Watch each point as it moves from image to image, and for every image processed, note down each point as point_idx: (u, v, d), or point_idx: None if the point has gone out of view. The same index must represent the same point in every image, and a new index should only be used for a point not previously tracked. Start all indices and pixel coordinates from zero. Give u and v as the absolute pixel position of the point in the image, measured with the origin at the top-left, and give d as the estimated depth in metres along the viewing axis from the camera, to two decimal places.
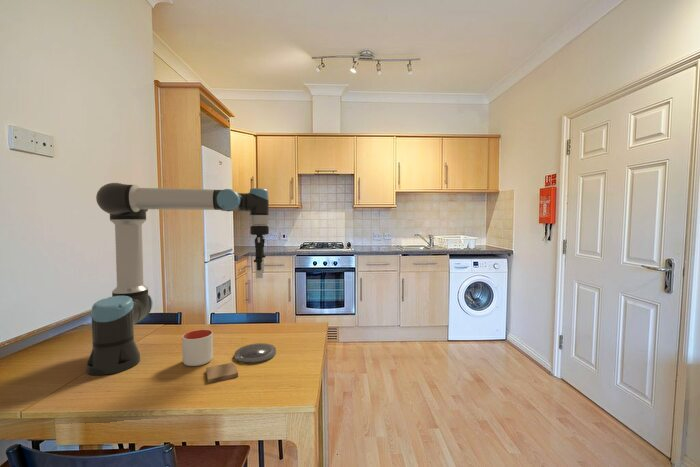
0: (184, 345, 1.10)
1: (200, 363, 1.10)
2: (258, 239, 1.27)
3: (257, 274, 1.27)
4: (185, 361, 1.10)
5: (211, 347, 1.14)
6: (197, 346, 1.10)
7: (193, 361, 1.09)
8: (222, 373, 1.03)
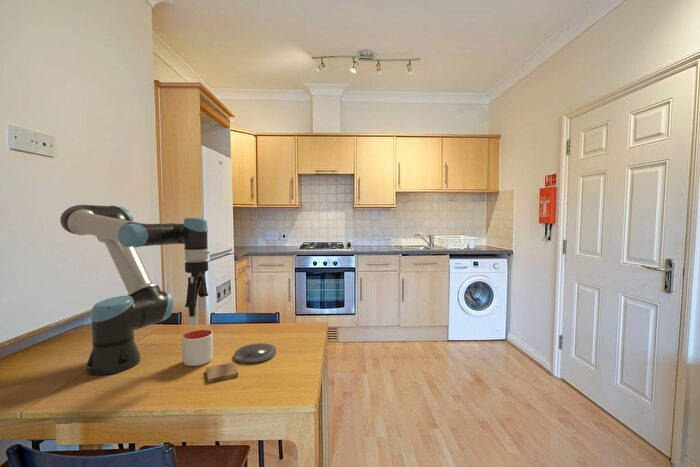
0: (184, 345, 1.10)
1: (200, 363, 1.10)
2: (191, 279, 1.06)
3: (190, 321, 1.07)
4: (185, 361, 1.10)
5: (211, 347, 1.14)
6: (197, 346, 1.10)
7: (193, 361, 1.09)
8: (222, 373, 1.03)
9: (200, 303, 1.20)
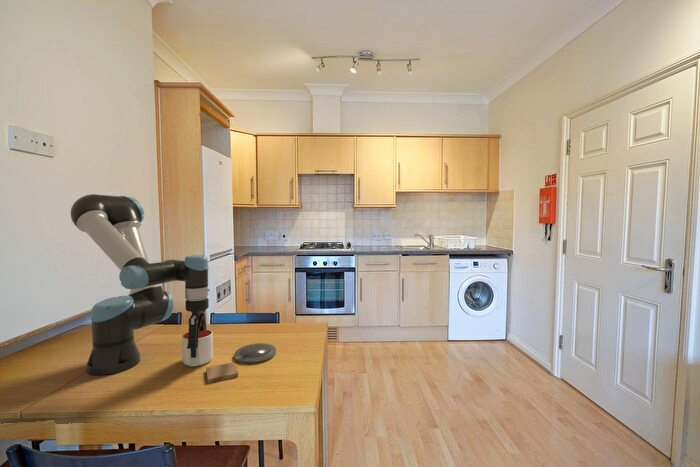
0: (184, 345, 1.10)
1: (200, 363, 1.10)
2: (192, 321, 1.07)
3: (192, 362, 1.09)
4: (185, 361, 1.10)
5: (211, 347, 1.14)
6: None
7: None
8: (222, 373, 1.03)
9: None
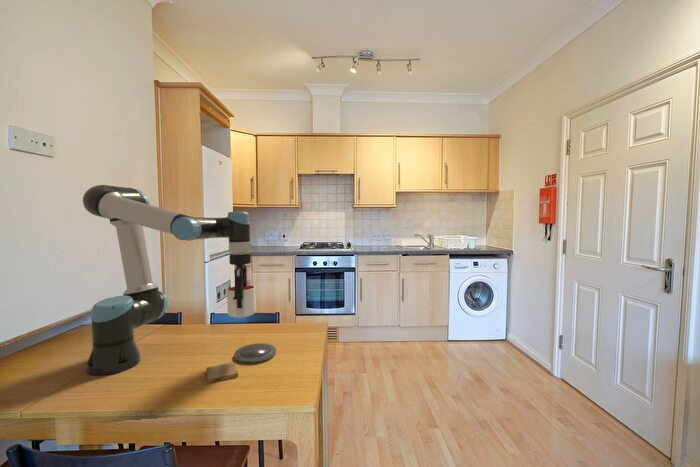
0: (229, 297, 1.13)
1: (245, 314, 1.13)
2: (238, 272, 1.10)
3: (238, 312, 1.12)
4: (231, 312, 1.13)
5: (254, 300, 1.17)
6: None
7: None
8: (222, 373, 1.03)
9: None
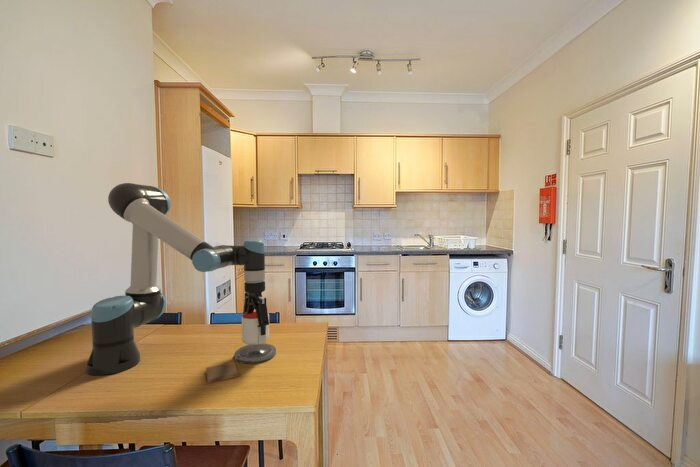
0: (250, 325, 1.14)
1: None
2: (263, 300, 1.14)
3: (260, 339, 1.15)
4: (251, 340, 1.15)
5: None
6: None
7: None
8: (222, 373, 1.03)
9: None
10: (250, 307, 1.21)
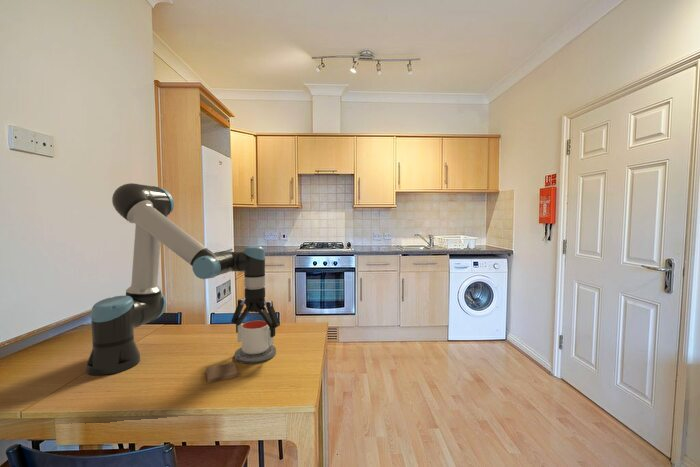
0: (258, 335, 1.15)
1: (268, 347, 1.20)
2: (271, 303, 1.17)
3: (270, 341, 1.17)
4: (259, 349, 1.15)
5: None
6: None
7: (266, 346, 1.18)
8: (222, 373, 1.03)
9: (240, 331, 1.21)
10: (246, 313, 1.20)
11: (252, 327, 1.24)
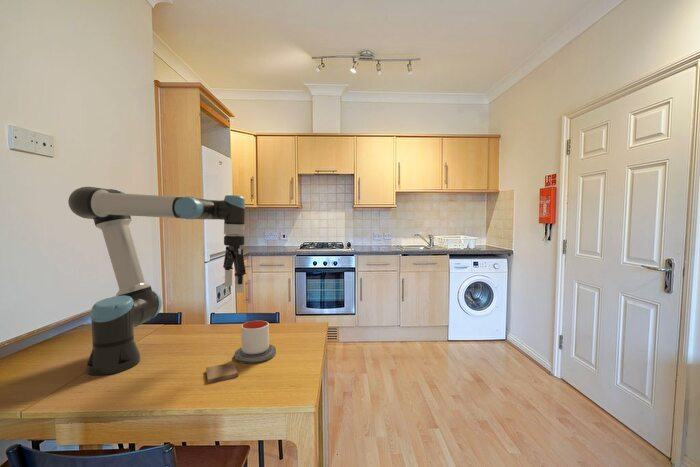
0: (258, 335, 1.15)
1: (268, 347, 1.20)
2: (239, 251, 1.18)
3: (237, 288, 1.18)
4: (259, 349, 1.15)
5: None
6: (268, 331, 1.19)
7: (266, 346, 1.18)
8: (222, 373, 1.03)
9: (227, 276, 1.28)
10: (229, 260, 1.26)
11: (252, 327, 1.24)
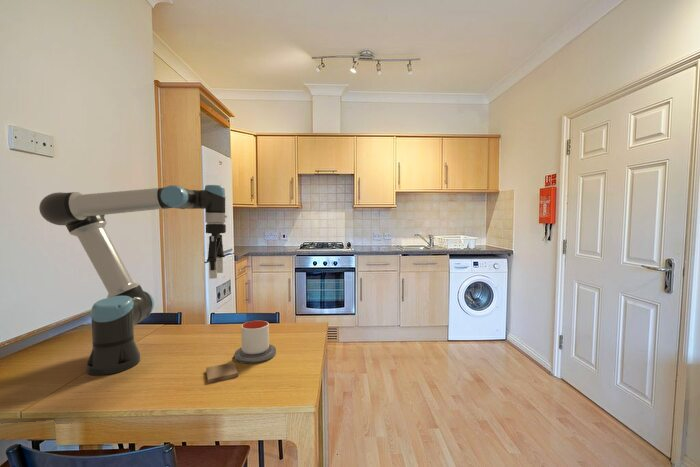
0: (258, 335, 1.15)
1: (268, 347, 1.20)
2: (212, 238, 1.21)
3: (211, 274, 1.22)
4: (259, 349, 1.15)
5: None
6: (268, 331, 1.19)
7: (266, 346, 1.18)
8: (222, 373, 1.03)
9: (218, 263, 1.35)
10: None
11: (252, 327, 1.24)
